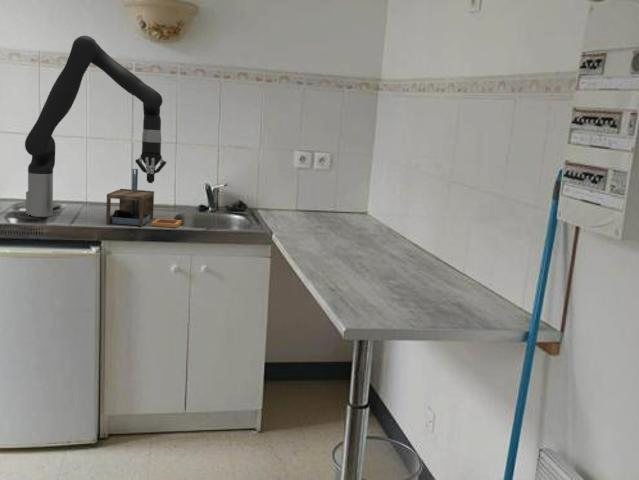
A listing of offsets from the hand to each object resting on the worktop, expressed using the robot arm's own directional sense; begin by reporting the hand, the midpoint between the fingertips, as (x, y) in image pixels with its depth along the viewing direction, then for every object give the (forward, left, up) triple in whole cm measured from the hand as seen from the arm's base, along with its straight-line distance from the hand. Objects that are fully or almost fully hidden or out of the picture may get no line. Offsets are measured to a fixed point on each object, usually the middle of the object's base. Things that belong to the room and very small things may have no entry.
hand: (150, 182), depth 278 cm
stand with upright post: (-7, -8, -16) cm, 19 cm away
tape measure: (-6, -8, -16) cm, 19 cm away
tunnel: (-6, -8, -16) cm, 19 cm away
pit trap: (+9, -8, -16) cm, 20 cm away
